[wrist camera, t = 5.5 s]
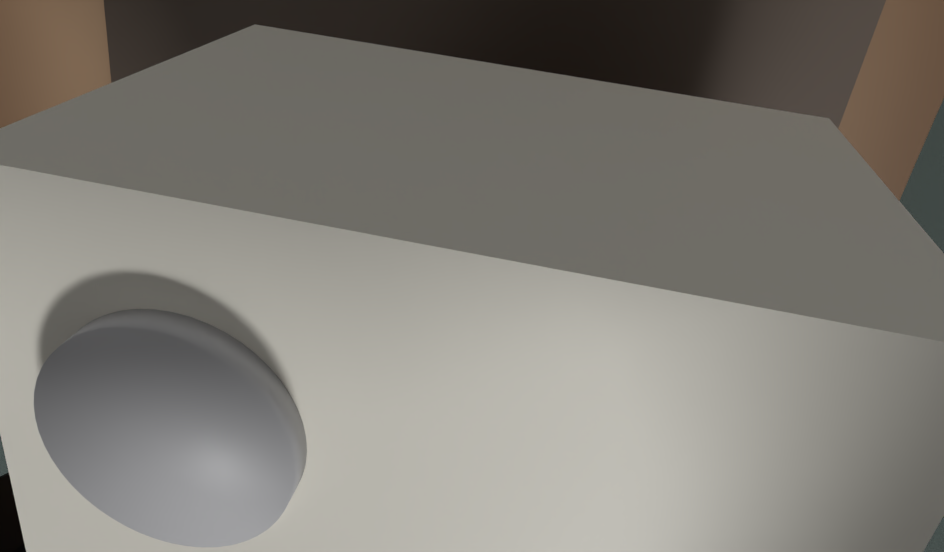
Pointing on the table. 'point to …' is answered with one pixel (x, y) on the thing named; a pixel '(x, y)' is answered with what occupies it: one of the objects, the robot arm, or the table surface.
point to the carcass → (543, 50)
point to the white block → (456, 316)
